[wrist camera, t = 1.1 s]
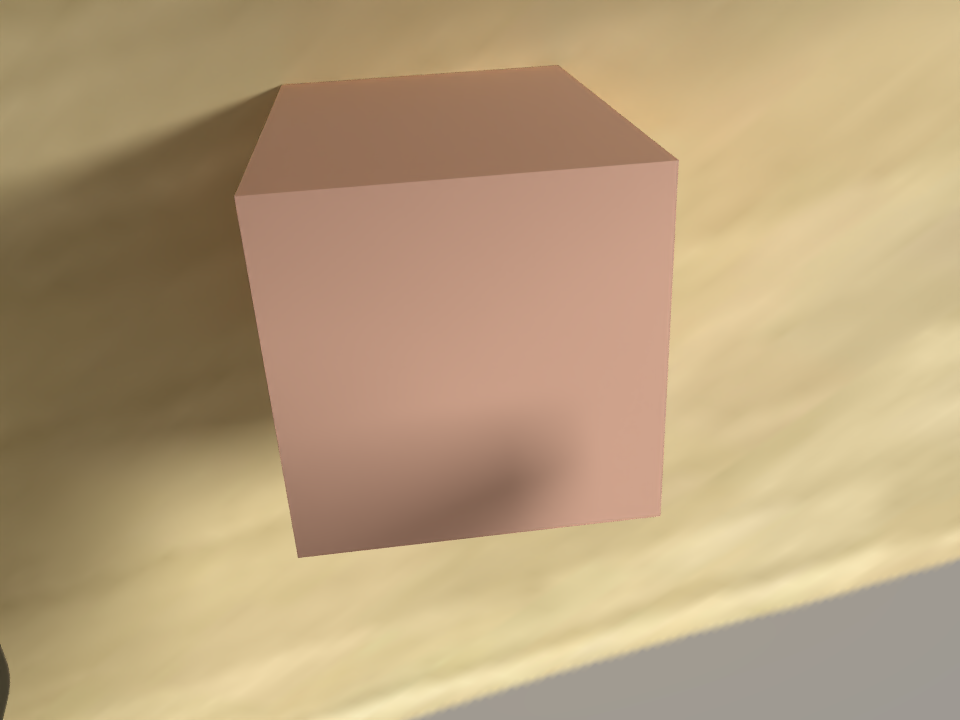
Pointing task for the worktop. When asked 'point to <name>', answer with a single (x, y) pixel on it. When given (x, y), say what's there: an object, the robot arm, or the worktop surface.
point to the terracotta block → (460, 305)
